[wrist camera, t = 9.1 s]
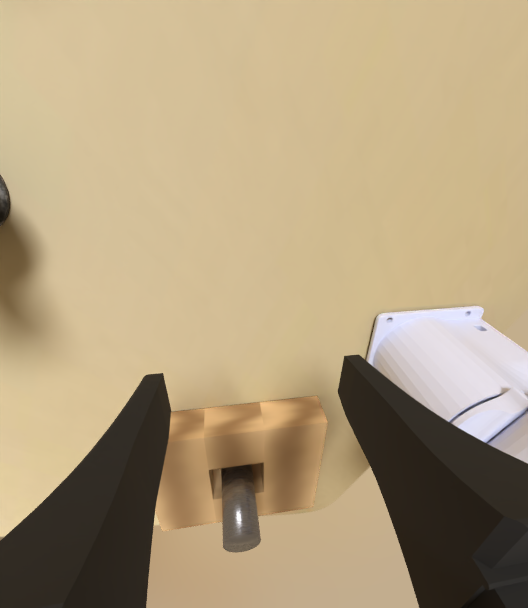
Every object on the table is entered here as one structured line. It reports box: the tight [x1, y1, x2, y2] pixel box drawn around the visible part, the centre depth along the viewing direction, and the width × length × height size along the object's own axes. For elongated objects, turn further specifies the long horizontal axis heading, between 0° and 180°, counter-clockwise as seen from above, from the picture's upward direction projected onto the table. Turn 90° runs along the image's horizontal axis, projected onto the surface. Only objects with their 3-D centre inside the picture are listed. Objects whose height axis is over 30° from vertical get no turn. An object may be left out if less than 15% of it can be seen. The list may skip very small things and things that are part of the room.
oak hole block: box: [155, 396, 328, 531], centre depth 30 cm, size 16×14×3 cm
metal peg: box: [221, 464, 261, 552], centre depth 27 cm, size 3×3×8 cm
